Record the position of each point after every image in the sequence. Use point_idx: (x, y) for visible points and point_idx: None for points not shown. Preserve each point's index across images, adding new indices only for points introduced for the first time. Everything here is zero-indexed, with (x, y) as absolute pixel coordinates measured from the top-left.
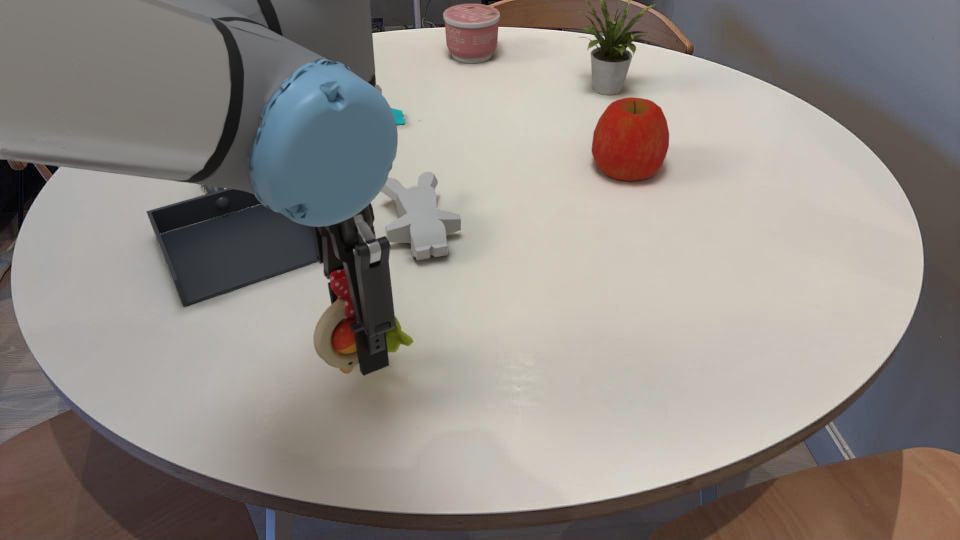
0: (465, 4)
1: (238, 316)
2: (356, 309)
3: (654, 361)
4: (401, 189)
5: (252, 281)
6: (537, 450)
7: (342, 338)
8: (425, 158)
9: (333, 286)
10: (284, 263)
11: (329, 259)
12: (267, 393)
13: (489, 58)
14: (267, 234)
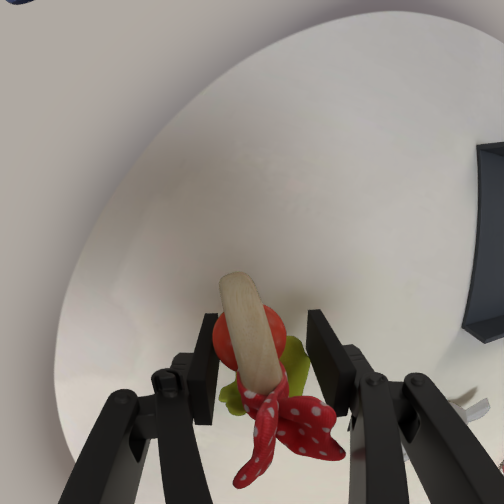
0: None
1: (444, 193)
2: (168, 419)
3: (159, 486)
4: (470, 419)
5: (479, 230)
6: (97, 394)
7: (220, 333)
8: (482, 425)
9: (258, 419)
10: (481, 274)
11: (363, 433)
12: (304, 176)
13: (502, 463)
14: None
